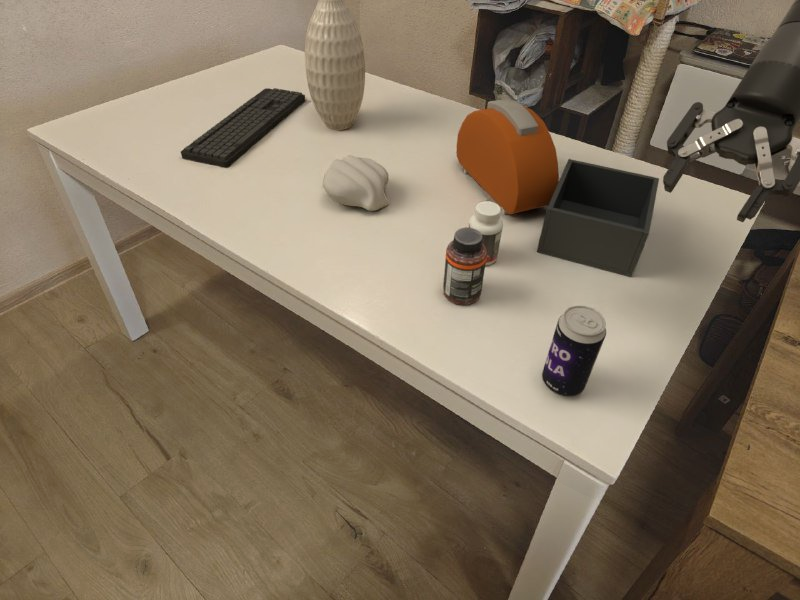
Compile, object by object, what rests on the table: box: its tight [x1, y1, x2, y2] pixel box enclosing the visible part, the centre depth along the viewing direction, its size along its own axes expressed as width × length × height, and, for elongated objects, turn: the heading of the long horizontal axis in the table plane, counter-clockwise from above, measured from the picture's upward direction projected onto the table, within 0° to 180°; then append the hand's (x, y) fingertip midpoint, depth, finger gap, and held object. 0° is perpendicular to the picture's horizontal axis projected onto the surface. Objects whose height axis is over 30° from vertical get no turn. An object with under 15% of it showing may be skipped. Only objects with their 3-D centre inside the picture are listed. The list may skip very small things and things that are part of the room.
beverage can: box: [541, 305, 607, 397], centre depth 68 cm, size 6×6×12 cm
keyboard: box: [180, 87, 306, 169], centre depth 124 cm, size 35×11×2 cm, turn 160°
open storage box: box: [536, 158, 660, 278], centre depth 93 cm, size 16×18×9 cm
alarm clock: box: [456, 98, 560, 215], centre depth 101 cm, size 23×9×17 cm, turn 22°
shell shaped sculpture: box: [322, 154, 390, 212], centre depth 102 cm, size 13×13×6 cm
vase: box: [304, 0, 366, 131], centre depth 117 cm, size 13×13×28 cm
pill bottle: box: [468, 200, 504, 267], centre depth 88 cm, size 5×5×10 cm
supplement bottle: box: [442, 227, 487, 306], centre depth 81 cm, size 6×6×11 cm
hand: (702, 204), depth 63 cm, fingers open, 8 cm apart
